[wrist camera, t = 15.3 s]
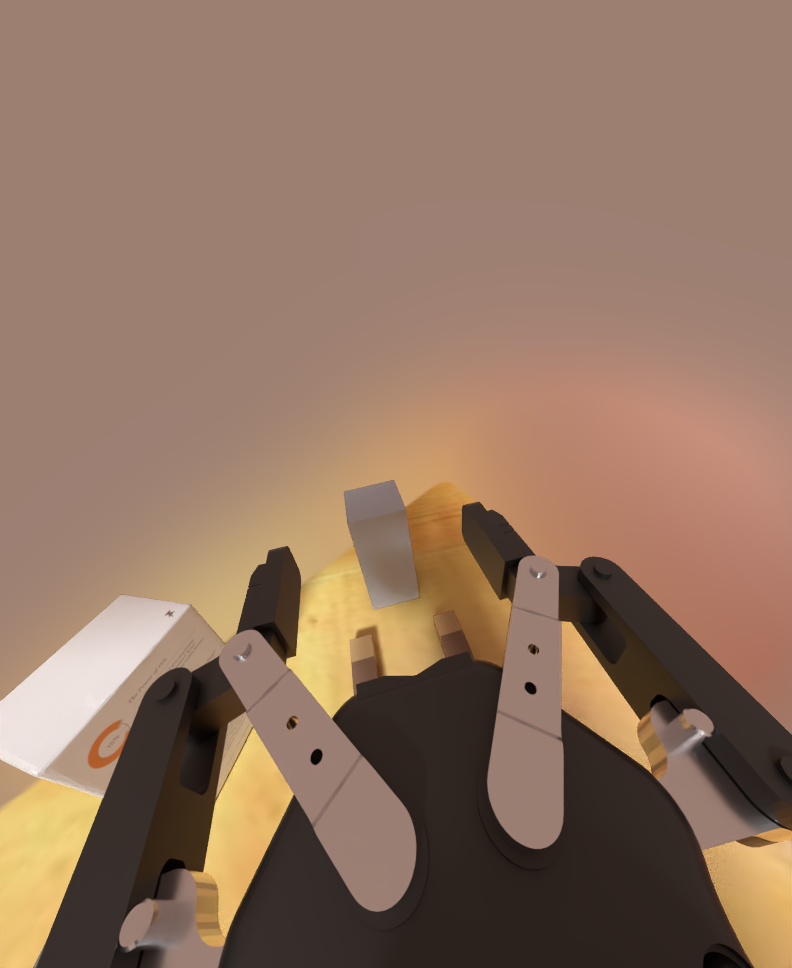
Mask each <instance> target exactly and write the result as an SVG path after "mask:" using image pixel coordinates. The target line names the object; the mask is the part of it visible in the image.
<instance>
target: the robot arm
mask: <svg viewBox="0 0 792 968" xmlns="http://www.w3.org/2000/svg"><path fill="white" fill-rule="evenodd" d="M462 534H463V538H464V540H465V542H466V544H467V546H468V547H469V549H470V551H471V553H472V554H473V556H474V558H475V559H476V561H477V563H478V564H479V566H480V568H481V569H482V571H483V573H484V574H485V576H486V578H487V579H488V581H489V583H490V584H491V586H492V588H493V589H494V591H495V593H496V595H497V596H498V598H499V600H502V599H505V598H509V600H510V601H511V603H512V606H511V613H510V619H509V626H508V632H507V639H506V645H505V652H504V658H503V664H502V667H500V666H498V665H496V664H493V663H491V662H487V661H483V660H476V659H472V658H471V656H470V653H469V651H467V652H463V653H460V654H457V655H453V656H450V657H447V658H443V659H441V660H439V661H438V662H436V663H435V664H433V665H432V666H430V667H429V668H427V669H425V670H424V671H422V672H421V673H419V674H417V675H415V676H383V677H379V678H376V679H372V680H369V681H366V682H362V683H359V684H356V690H357V694H356V695H354V696H353V697H351V698H350V699H349V700H348V701H346V702H345V703H344V704H343V705H342V706H341V708H340V709H339V710H338V711H337V712H336V714H335V715H334V716H333V718H332V719H331V717H330V716H329V715H328V714H327V713H326V711H325V710H324V709H323V708H322V707H321V705H320V704H319V703H318V702H317V700H316V699H315V698H314V697H313V696H312V694H311V693H310V692H309V691H308V690H307V688H306V687H305V686H304V685H303V683H302V682H301V681H300V680H299V679H298V677H297V676H296V675H295V674H294V673H293V671H292V670H291V669H289V668H288V667H287V666H286V659H287V658H290V657H294V656H296V647H297V633H298V619H299V605H300V590H301V576H300V572H299V569H298V567H297V564H296V562H295V560H294V557H293V555H292V553H291V552H290V549H289V547H288V546H286V547H281V548H277V549H273V550H269V552H268V556H267V561H266V564H261V565H258V567H257V568H256V570H255V571H254V573H253V574H252V575H251V578H250V582H249V586H248V587H249V589H248V590H247V595H246V599H245V602H244V606H243V610H242V614H241V618H240V622H239V626H238V630H237V633H236V635H235V636H234V637H233V638H231V639H230V640H229V641H228V642H227V643H226V645H225V646H224V648H223V649H222V651H221V654H220V655H219V656H218V657H217V658H215V659H213V660H212V661H210V662H208V663H206V664H205V665H203V666H201V667H199V668H197V669H196V670H194V671H192V672H191V671H189V670H188V669H187V668H183V667H179V668H175V669H172V670H170V671H168V672H166V673H165V674H163V675H162V676H160V677H159V678H158V679H157V680H156V681H155V682H154V683H153V684H152V685H151V686H150V687H149V689H148V690H147V691H146V693H145V695H144V696H143V699H142V701H141V703H140V706H139V709H138V711H137V714H136V716H135V719H134V721H133V724H132V726H131V729H130V731H129V734H128V736H127V739H126V741H125V744H124V746H123V749H122V751H121V754H120V757H119V759H118V762H117V764H116V767H115V769H114V772H113V774H112V777H111V779H110V782H109V784H108V787H107V789H106V792H105V794H104V797H103V799H102V802H101V805H100V807H99V810H98V812H97V815H96V817H95V820H94V822H93V825H92V827H91V830H90V832H89V835H88V837H87V840H86V842H85V845H84V847H83V850H82V853H81V855H80V858H79V860H78V863H77V865H76V868H75V870H74V873H73V875H72V878H71V880H70V883H69V885H68V888H67V890H66V893H65V895H64V898H63V901H62V903H61V906H60V908H59V911H58V913H57V916H56V918H55V921H54V923H53V926H52V928H51V931H50V933H49V936H48V938H47V941H46V944H45V946H44V949H43V951H42V954H41V956H40V959H39V961H38V964H37V966H36V968H754V967H753V965H752V963H751V962H750V960H749V958H748V957H747V955H746V953H745V951H744V950H743V948H742V946H741V944H740V942H739V940H738V938H737V936H736V934H735V932H734V930H733V928H732V926H731V924H730V922H729V920H728V918H727V916H726V914H725V911H724V909H723V907H722V905H721V902H720V900H719V898H718V895H717V893H716V890H715V888H714V885H713V882H712V880H711V877H710V874H709V871H708V868H707V865H706V861H705V858H704V856H703V853H702V850H704V849H708V848H711V847H715V846H718V845H722V844H725V843H729V842H732V841H737V842H739V843H741V844H743V845H746V846H750V847H761V846H765V845H769V844H774V843H778V842H782V841H786V840H790V839H792V735H791V734H790V733H789V732H788V731H787V730H786V729H785V728H784V727H783V726H782V725H781V724H780V723H779V722H778V721H777V720H776V719H775V718H774V717H773V716H772V715H771V714H770V713H769V712H768V711H767V710H766V709H764V707H763V706H762V705H761V704H760V703H759V702H757V701H756V700H755V699H754V698H753V697H752V696H751V695H750V694H749V693H748V692H747V691H746V690H745V689H744V688H743V687H742V686H741V685H740V684H739V683H738V682H737V681H736V680H735V679H734V678H733V677H732V676H731V675H730V674H729V673H728V672H727V671H726V670H725V669H724V668H722V666H721V665H720V664H718V662H716V661H715V660H714V659H713V658H712V657H711V656H710V655H709V654H708V653H707V652H706V651H705V650H704V649H703V648H702V647H701V646H700V645H699V644H698V643H697V642H696V641H695V640H694V639H693V638H692V637H691V636H690V635H689V634H688V633H687V632H686V631H685V630H683V628H682V627H681V626H680V625H678V624H677V622H675V621H674V620H673V619H672V618H671V617H670V616H669V615H668V614H667V613H666V612H665V611H664V610H663V609H662V608H661V607H660V606H659V605H658V604H657V603H656V602H655V601H654V600H653V599H652V598H651V597H650V596H649V595H648V594H647V593H646V592H645V591H644V590H643V589H642V588H640V586H639V585H638V584H637V583H635V582H634V581H633V580H632V579H631V578H630V577H629V576H628V575H627V574H626V573H625V572H624V571H623V570H622V569H621V568H620V567H619V566H618V565H616V564H615V563H613V562H612V561H610V560H607V559H604V558H600V557H588V558H586V559H584V560H583V561H582V563H581V565H580V567H577V566H556V565H554V564H553V563H552V562H551V561H549V560H548V559H546V558H543V557H540V556H536V555H535V554H534V553H533V552H532V550H531V549H530V548H529V547H528V546H527V544H526V543H525V542H524V541H523V540H522V539H521V537H520V536H519V535H518V534H517V533H516V531H514V529H513V528H512V527H511V525H509V523H508V522H507V521H506V519H505V518H504V517H503V516H502V515H500V514H499V513H497V512H495V511H494V510H489V511H487V510H486V509H485V508H484V507H483V505H482V504H481V503H480V502H475V503H471V504H466V505H463V507H462ZM561 621H567V622H572V624H573V625H574V627H575V628H576V630H577V631H578V632H579V634H580V635H581V637H582V638H583V640H584V641H585V642H586V644H587V645H588V647H589V648H590V650H591V651H592V652H593V654H594V655H595V657H596V658H597V659H598V661H599V662H600V664H601V665H602V667H603V668H604V669H605V671H606V672H607V674H608V675H609V677H610V678H611V679H612V681H613V682H614V684H615V685H616V687H617V688H618V689H619V691H620V692H621V694H622V695H623V696H624V698H625V699H626V701H627V702H628V704H629V705H630V706H631V708H632V709H633V711H634V712H635V714H636V715H637V716H638V718H639V719H640V722H639V723H638V727H637V733H638V738H639V741H640V743H641V746H642V747H643V749H644V751H645V753H646V755H647V757H648V759H649V762H650V766H651V771H652V774H651V773H650V772H649V771H648V770H647V769H645V768H644V767H643V766H642V765H640V764H639V763H638V762H636V761H635V760H633V759H632V758H631V757H629V756H628V755H626V754H625V753H624V752H622V751H621V750H619V749H618V748H616V747H615V746H614V745H612V744H611V743H609V742H608V741H606V740H605V739H604V738H602V737H601V736H599V735H598V734H597V733H595V732H594V731H592V730H591V729H589V728H588V727H587V726H585V725H584V724H582V723H581V722H580V721H578V720H577V719H575V718H574V717H572V716H571V715H570V714H568V713H567V712H565V711H564V710H562V709H561V654H562V625H561ZM246 711H247V712H246ZM245 712H246V714H247V717H248V718H249V720H250V722H251V724H252V725H253V727H254V729H255V730H256V732H257V734H258V735H259V737H260V739H261V740H262V742H263V743H264V745H265V747H266V748H267V750H268V752H269V753H270V755H271V757H272V758H273V760H274V762H275V763H276V765H277V767H278V768H279V770H280V772H281V773H282V775H283V777H284V778H285V780H286V782H287V783H288V785H289V787H290V788H291V790H292V792H293V793H294V795H293V798H292V800H291V802H290V804H289V806H288V808H287V810H286V812H285V814H284V816H283V818H282V820H281V822H280V824H279V826H278V828H277V830H276V832H275V834H274V836H273V838H272V840H271V842H270V844H269V846H268V848H267V850H266V852H265V854H264V857H263V859H262V861H261V863H260V865H259V867H258V869H257V871H256V873H255V875H254V877H253V879H252V881H251V883H250V885H249V887H248V889H247V891H246V893H245V895H244V897H243V899H242V901H241V903H240V905H239V907H238V910H237V912H236V914H235V916H234V919H233V921H232V923H231V926H230V929H229V931H228V934H227V937H226V939H225V937H224V936H223V935H222V932H221V930H220V926H219V921H218V899H219V897H218V888H217V884H216V882H215V880H214V879H213V877H212V876H211V875H209V874H207V873H203V870H204V864H205V858H206V852H207V846H208V841H209V835H210V829H211V823H212V817H213V811H214V805H215V799H216V793H217V787H218V781H219V775H220V769H221V763H222V757H223V752H224V746H225V740H226V734H227V728H228V723H229V722H231V721H232V720H234V719H235V718H237V717H238V716H240V715H241V714H243V713H245Z"/></svg>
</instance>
